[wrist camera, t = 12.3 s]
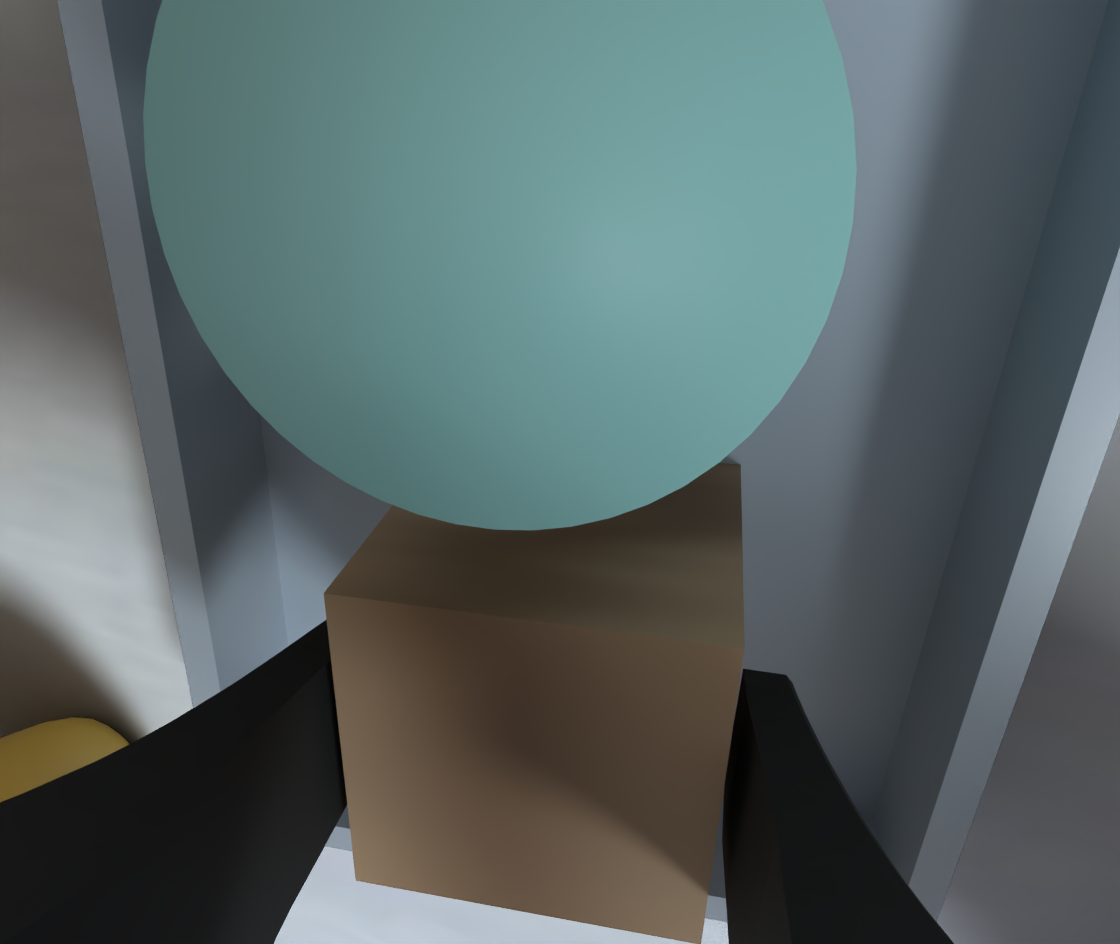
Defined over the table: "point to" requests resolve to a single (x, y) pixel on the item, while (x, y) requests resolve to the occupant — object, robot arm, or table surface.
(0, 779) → the dumbbell
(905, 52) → the tote
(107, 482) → the table surface
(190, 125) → the teal cylinder
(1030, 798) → the table surface
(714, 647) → the cube
